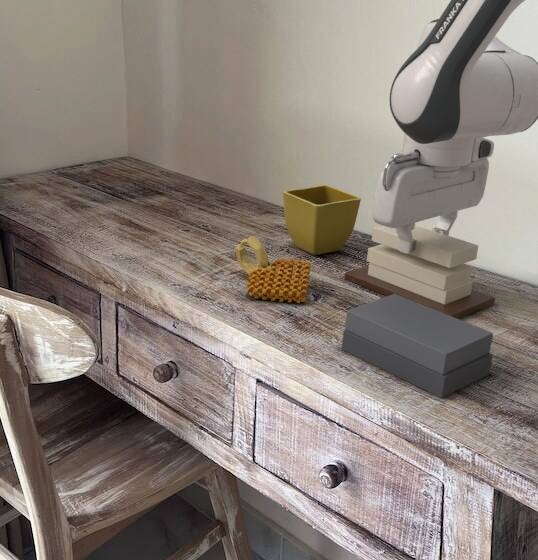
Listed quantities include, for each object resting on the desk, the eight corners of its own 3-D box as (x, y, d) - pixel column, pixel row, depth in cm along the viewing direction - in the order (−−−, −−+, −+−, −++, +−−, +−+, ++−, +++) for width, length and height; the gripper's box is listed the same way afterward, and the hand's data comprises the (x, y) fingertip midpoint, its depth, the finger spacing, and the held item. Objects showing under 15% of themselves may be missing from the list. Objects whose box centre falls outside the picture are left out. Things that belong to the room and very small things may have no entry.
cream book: (476, 259, 108) (478, 245, 108) (449, 268, 105) (452, 253, 104) (398, 233, 118) (399, 220, 117) (371, 240, 114) (372, 227, 113)
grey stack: (489, 374, 91) (496, 334, 89) (441, 398, 86) (448, 356, 84) (389, 330, 101) (394, 293, 99) (341, 349, 96) (345, 310, 94)
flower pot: (312, 262, 123) (317, 205, 119) (277, 245, 129) (281, 190, 126) (356, 253, 127) (362, 198, 124) (320, 237, 134) (325, 184, 130)
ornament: (337, 264, 107) (266, 212, 117) (274, 295, 103) (206, 238, 112) (333, 303, 112) (265, 250, 121) (273, 334, 107) (207, 276, 117)
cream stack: (494, 304, 110) (500, 269, 108) (450, 322, 104) (456, 286, 102) (388, 264, 123) (392, 233, 121) (344, 278, 117) (347, 246, 115)
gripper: (407, 161, 97) (393, 268, 102) (501, 142, 110) (485, 239, 115) (366, 150, 102) (355, 254, 107) (461, 133, 114) (447, 227, 119)
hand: (423, 246), depth 111 cm, fingers closed on cream book, 6 cm apart
